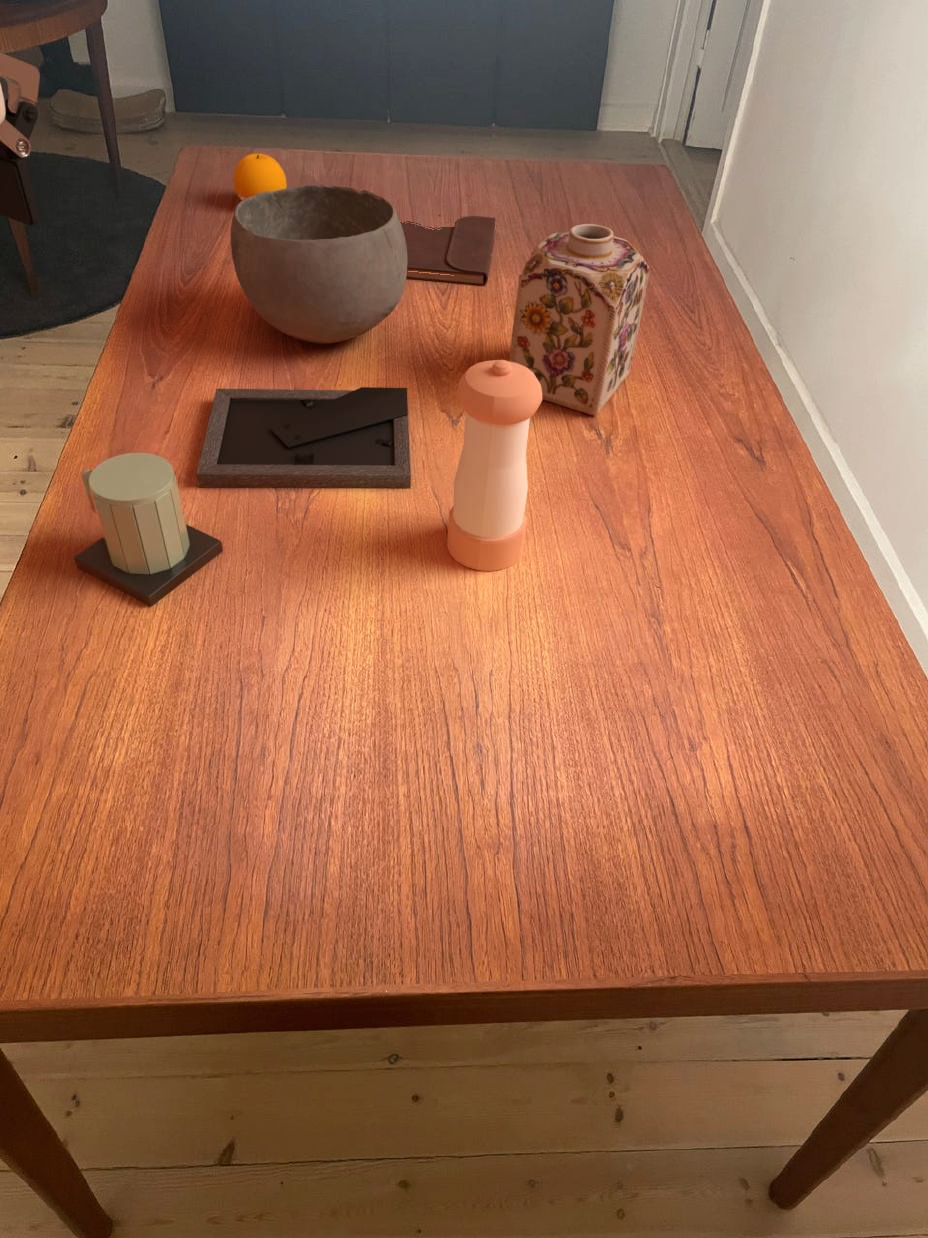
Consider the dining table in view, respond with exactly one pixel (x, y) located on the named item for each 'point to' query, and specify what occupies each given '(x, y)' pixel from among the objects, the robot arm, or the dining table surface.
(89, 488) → the cup
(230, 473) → the picture frame
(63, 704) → the dining table surface
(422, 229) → the notebook
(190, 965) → the dining table surface
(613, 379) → the decorative jar
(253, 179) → the orange
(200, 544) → the cup stand
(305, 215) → the bowl
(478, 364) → the pepper shaker
